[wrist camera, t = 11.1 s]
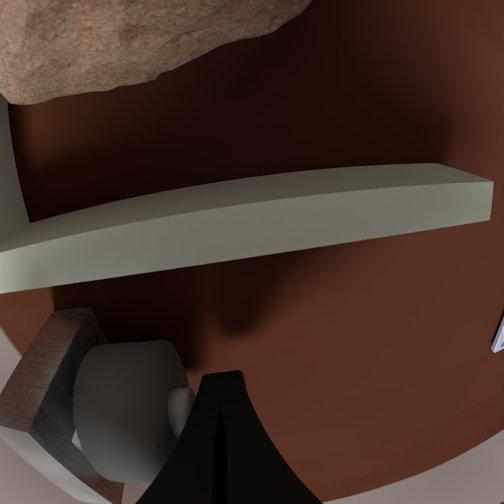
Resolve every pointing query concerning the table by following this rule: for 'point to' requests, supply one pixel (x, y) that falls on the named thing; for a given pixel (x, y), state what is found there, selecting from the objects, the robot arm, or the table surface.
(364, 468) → the table surface
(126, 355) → the wheel
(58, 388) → the axle mount
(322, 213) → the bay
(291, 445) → the table surface
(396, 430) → the table surface
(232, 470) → the robot arm
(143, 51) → the stone
